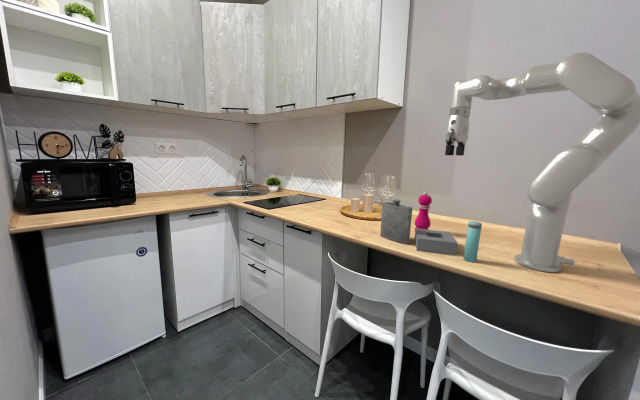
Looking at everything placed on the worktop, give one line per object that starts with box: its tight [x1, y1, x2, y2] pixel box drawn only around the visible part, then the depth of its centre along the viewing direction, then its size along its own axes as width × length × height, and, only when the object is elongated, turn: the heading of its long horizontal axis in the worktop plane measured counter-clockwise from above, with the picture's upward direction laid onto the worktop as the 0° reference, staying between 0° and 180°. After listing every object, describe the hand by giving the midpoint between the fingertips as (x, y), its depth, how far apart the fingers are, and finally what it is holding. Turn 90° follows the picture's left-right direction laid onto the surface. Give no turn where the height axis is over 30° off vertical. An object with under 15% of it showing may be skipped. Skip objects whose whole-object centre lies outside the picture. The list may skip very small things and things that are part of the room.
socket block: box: [413, 227, 458, 256], centre depth 104 cm, size 14×14×5 cm
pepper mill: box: [414, 191, 433, 230], centre depth 121 cm, size 7×7×20 cm
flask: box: [379, 199, 413, 246], centre depth 109 cm, size 4×14×18 cm, turn 39°
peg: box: [463, 221, 483, 263], centre depth 90 cm, size 4×4×14 cm
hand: (454, 155), depth 107 cm, fingers open, 9 cm apart
